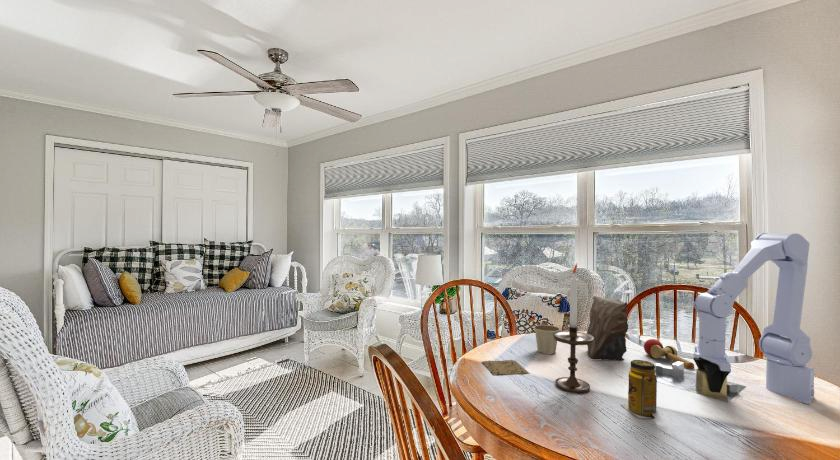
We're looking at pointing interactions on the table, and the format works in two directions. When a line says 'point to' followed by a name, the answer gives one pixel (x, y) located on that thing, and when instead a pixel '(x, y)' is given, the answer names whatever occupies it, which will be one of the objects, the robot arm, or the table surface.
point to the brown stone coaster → (504, 367)
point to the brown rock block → (607, 329)
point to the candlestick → (573, 344)
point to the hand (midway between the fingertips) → (711, 388)
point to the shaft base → (689, 380)
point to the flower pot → (546, 338)
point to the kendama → (664, 352)
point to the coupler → (703, 384)
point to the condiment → (642, 389)
